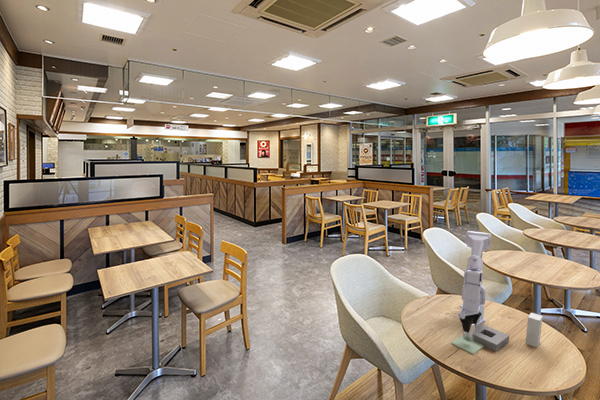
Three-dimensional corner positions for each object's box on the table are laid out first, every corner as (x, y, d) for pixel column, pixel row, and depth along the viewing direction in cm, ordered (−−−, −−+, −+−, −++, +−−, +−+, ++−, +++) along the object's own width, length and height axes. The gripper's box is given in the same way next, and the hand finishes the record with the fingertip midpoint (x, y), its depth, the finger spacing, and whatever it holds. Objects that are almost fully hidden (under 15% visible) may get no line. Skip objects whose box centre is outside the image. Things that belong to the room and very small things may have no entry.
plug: (468, 335, 133) (469, 319, 132) (476, 340, 130) (477, 324, 129) (460, 337, 132) (461, 321, 131) (469, 342, 128) (470, 326, 127)
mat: (462, 336, 137) (462, 335, 137) (483, 346, 130) (484, 345, 130) (451, 343, 132) (451, 342, 132) (473, 354, 125) (473, 353, 125)
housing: (479, 329, 143) (480, 323, 143) (508, 341, 134) (509, 335, 133) (466, 337, 137) (466, 331, 136) (496, 351, 127) (496, 344, 126)
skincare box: (527, 337, 137) (530, 312, 135) (539, 342, 134) (543, 315, 132) (524, 343, 133) (527, 317, 131) (537, 348, 130) (540, 320, 128)
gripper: (470, 291, 136) (467, 320, 138) (452, 299, 127) (450, 330, 129) (487, 296, 130) (484, 327, 132) (470, 306, 122) (467, 338, 124)
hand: (468, 329), depth 130 cm, fingers closed on plug, 4 cm apart
